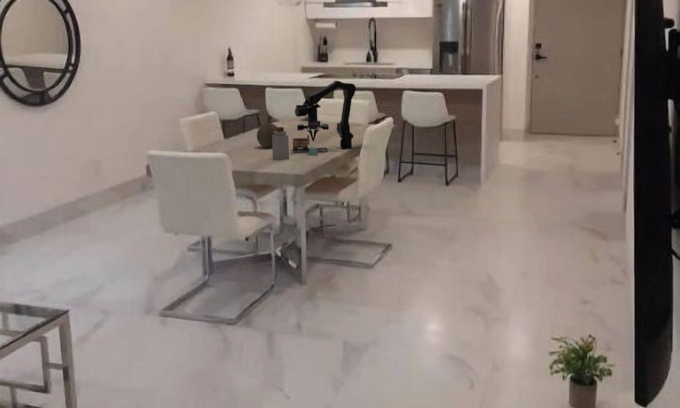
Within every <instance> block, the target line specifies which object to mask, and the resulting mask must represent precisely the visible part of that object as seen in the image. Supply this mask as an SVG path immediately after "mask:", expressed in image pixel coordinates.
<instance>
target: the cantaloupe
mask: <svg viewBox="0 0 680 408" xmlns="http://www.w3.org/2000/svg"><path fill="white" fill-rule="evenodd" d="M276 127H278V126H277V125H276V124H273V123H263V124H261V125H260V126H259V128H258V129H257V131H256V140H257V141H258V144H259V145H260V146H261V147H263V148H266V149H270V148H272V135H275V134H274V131H276Z"/></svg>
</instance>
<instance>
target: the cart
mask: <svg viewBox="0 0 680 408" xmlns="http://www.w3.org/2000/svg"><path fill="white" fill-rule="evenodd" d="M309 145H311V144H310V134H307V137H296V138H294V137H293V138H292V151H296V150H297V149H298V148H303V149H304V150H303V151H306V150H307V149H308V148H309Z"/></svg>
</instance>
